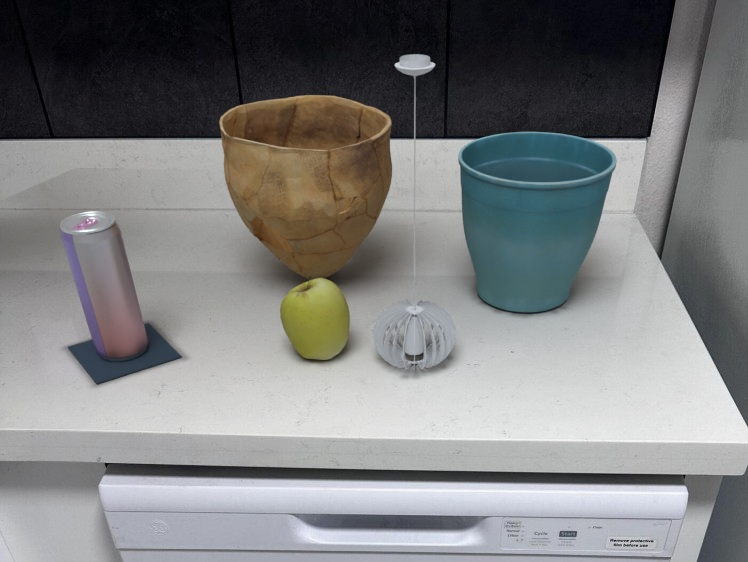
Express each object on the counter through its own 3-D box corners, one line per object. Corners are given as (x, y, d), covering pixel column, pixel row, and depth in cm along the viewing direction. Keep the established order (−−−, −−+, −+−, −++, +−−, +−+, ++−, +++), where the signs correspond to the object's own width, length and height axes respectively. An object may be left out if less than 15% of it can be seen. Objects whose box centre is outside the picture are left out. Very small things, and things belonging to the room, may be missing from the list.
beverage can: (86, 359, 90) (45, 228, 80) (116, 335, 94) (80, 207, 84) (131, 367, 89) (95, 235, 79) (159, 342, 93) (128, 213, 83)
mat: (67, 348, 93) (67, 346, 92) (148, 324, 97) (148, 322, 97) (96, 384, 86) (96, 383, 86) (181, 357, 91) (181, 356, 91)
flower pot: (591, 333, 94) (616, 186, 83) (442, 320, 97) (447, 176, 85) (595, 270, 107) (617, 135, 96) (463, 260, 110) (469, 128, 98)
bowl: (418, 262, 110) (419, 103, 96) (351, 325, 96) (341, 151, 83) (289, 238, 116) (273, 87, 103) (209, 295, 103) (179, 128, 89)
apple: (374, 338, 91) (350, 266, 83) (325, 381, 89) (296, 311, 81) (330, 316, 96) (303, 246, 88) (282, 356, 93) (250, 288, 85)
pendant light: (356, 358, 90) (341, 58, 70) (413, 330, 95) (414, 42, 75) (414, 389, 85) (415, 75, 65) (471, 358, 90) (489, 57, 70)
